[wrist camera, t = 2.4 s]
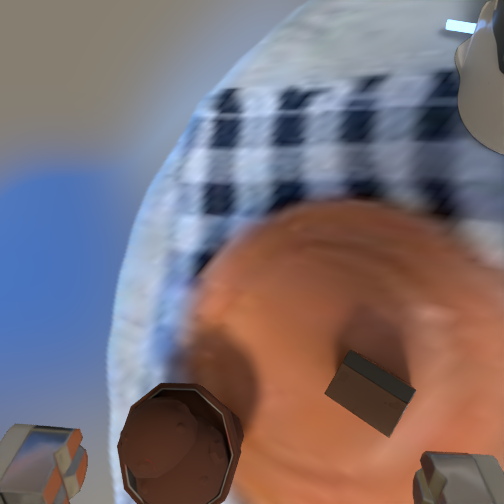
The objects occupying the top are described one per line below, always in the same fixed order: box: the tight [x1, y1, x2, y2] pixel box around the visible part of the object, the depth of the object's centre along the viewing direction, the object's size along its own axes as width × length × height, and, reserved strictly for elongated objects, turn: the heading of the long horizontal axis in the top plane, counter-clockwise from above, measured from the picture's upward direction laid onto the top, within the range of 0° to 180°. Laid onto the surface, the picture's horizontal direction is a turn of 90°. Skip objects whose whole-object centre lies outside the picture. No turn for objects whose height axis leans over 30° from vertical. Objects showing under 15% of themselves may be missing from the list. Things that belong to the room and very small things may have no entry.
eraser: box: [325, 350, 416, 438], centre depth 36 cm, size 4×6×9 cm
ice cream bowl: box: [117, 383, 244, 504], centre depth 37 cm, size 11×11×15 cm
